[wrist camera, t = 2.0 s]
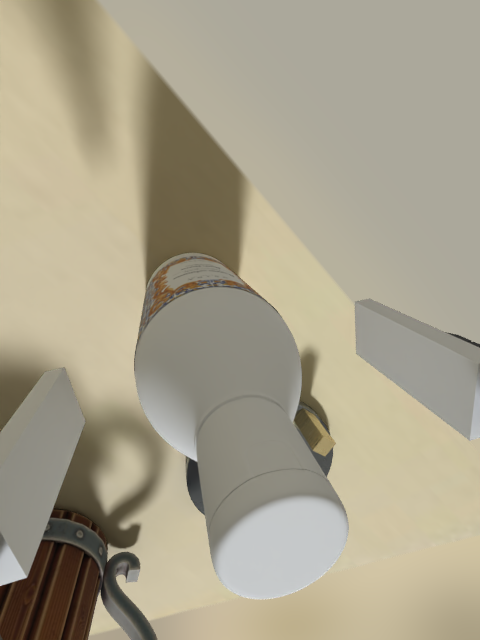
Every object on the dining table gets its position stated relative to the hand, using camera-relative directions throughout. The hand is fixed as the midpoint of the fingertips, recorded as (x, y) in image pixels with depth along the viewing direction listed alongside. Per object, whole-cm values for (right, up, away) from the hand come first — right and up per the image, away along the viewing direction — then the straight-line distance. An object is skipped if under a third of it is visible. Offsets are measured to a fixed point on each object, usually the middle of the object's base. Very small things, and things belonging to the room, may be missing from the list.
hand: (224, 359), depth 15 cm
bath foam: (-3, +4, +10) cm, 11 cm away
